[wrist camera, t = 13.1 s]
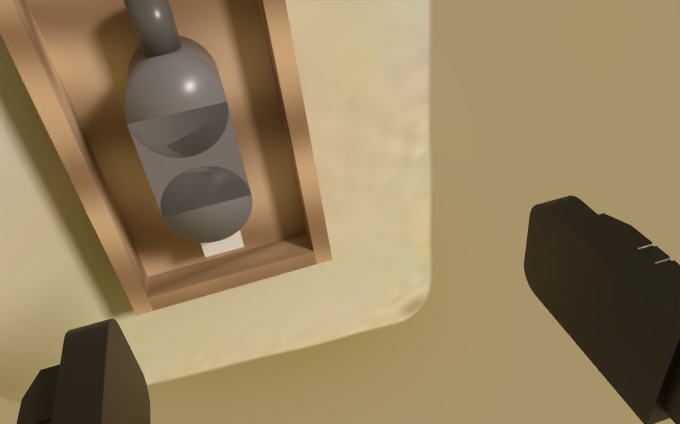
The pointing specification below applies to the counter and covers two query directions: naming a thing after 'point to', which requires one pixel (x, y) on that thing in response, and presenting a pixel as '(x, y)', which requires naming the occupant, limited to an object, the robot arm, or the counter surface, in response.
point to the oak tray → (121, 154)
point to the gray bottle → (185, 132)
